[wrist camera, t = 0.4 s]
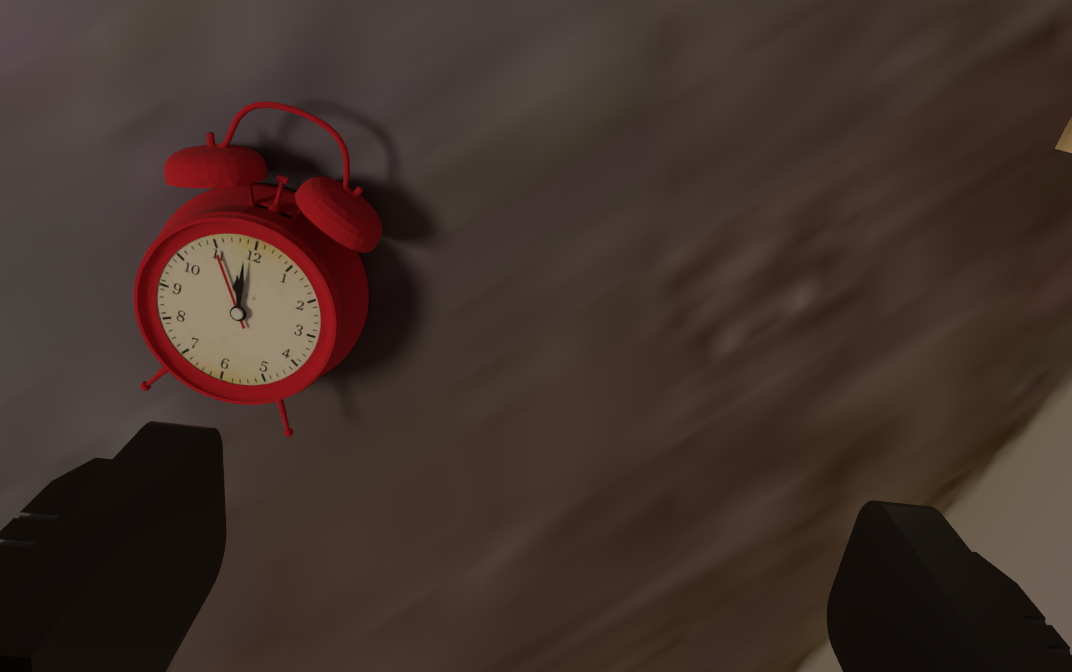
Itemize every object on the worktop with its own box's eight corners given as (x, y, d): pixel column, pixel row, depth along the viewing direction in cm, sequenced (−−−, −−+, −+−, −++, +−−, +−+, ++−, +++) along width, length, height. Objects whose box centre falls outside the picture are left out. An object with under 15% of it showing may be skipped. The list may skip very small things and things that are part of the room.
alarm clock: (102, 393, 36) (112, 101, 28) (164, 319, 41) (190, 54, 33) (315, 460, 38) (387, 202, 29) (351, 380, 43) (421, 141, 34)
